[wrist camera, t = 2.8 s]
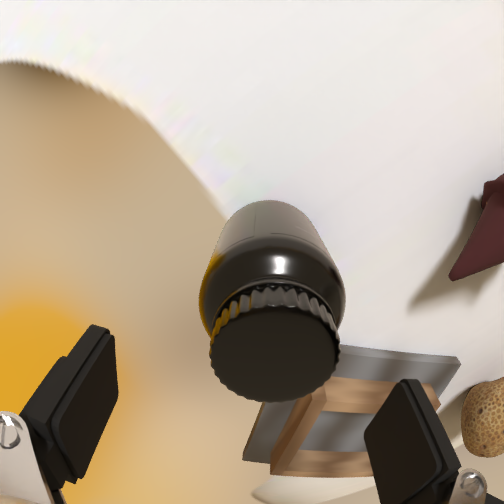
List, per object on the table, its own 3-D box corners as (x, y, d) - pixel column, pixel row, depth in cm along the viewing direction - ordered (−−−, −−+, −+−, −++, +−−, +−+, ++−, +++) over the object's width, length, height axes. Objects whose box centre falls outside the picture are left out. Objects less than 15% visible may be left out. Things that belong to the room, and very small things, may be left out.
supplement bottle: (261, 306, 24) (256, 438, 12) (200, 239, 22) (139, 344, 11) (337, 253, 22) (395, 366, 11) (278, 176, 20) (294, 229, 9)
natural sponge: (491, 344, 25) (538, 405, 15) (515, 368, 26) (552, 420, 17) (433, 402, 27) (464, 470, 18) (465, 418, 29) (492, 473, 20)
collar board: (456, 356, 25) (474, 383, 21) (379, 459, 31) (386, 484, 28) (286, 335, 24) (288, 370, 20) (243, 452, 31) (240, 481, 27)
